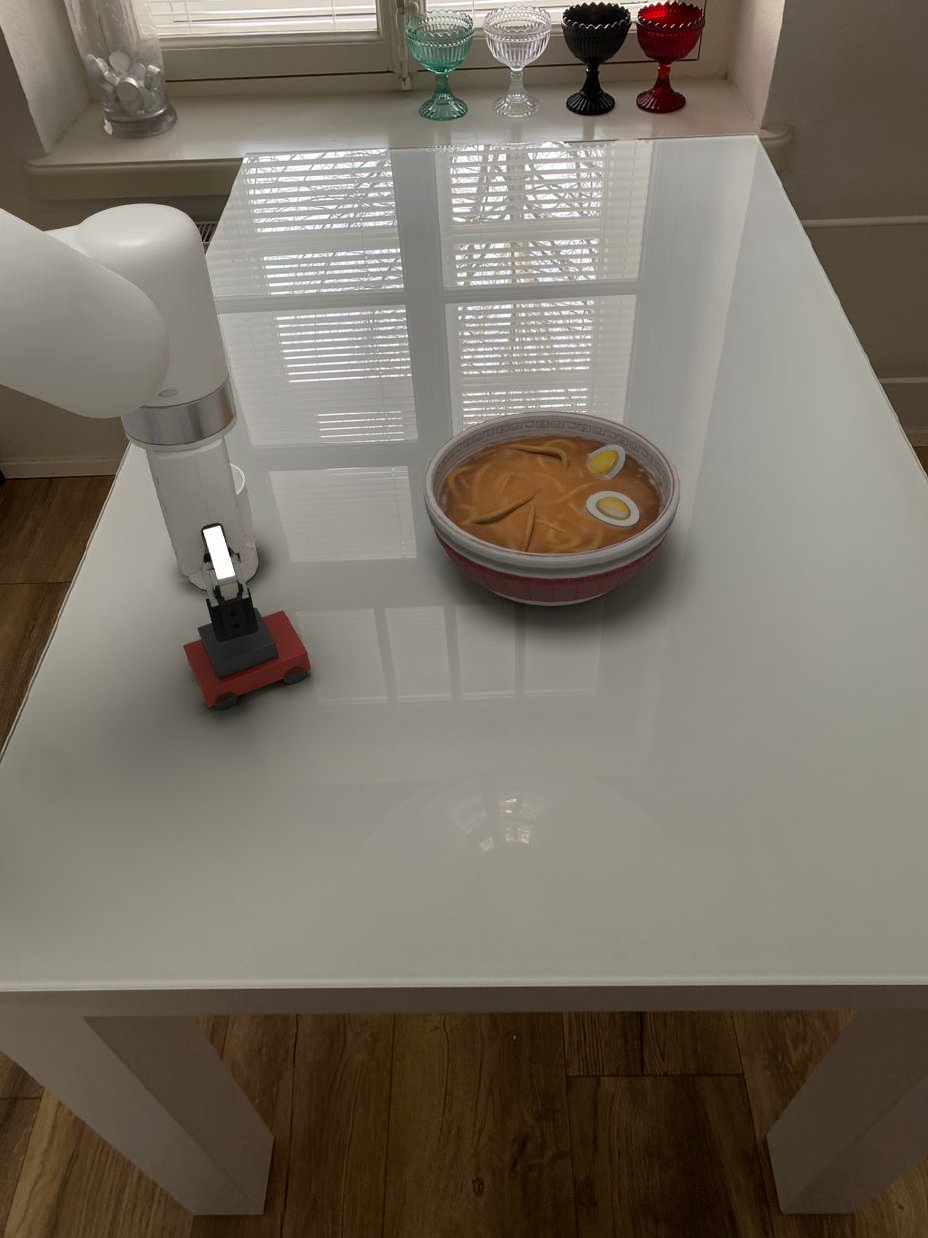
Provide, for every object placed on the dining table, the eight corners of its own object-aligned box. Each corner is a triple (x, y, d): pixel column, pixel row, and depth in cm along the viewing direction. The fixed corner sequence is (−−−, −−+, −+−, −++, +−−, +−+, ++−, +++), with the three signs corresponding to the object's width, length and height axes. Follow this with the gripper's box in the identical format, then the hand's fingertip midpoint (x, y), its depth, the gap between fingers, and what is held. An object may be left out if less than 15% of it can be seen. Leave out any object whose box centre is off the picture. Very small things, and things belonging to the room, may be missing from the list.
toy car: (197, 675, 76) (177, 629, 80) (210, 715, 79) (190, 669, 83) (304, 636, 79) (279, 594, 83) (312, 676, 82) (288, 634, 86)
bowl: (698, 525, 95) (712, 439, 89) (620, 678, 81) (630, 589, 74) (490, 472, 103) (489, 390, 96) (385, 602, 89) (375, 516, 82)
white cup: (272, 583, 91) (253, 497, 84) (190, 605, 89) (163, 519, 82) (254, 535, 97) (235, 451, 90) (176, 556, 95) (150, 471, 88)
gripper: (104, 359, 69) (159, 546, 81) (138, 483, 57) (197, 682, 69) (208, 340, 71) (247, 525, 83) (261, 456, 59) (298, 653, 71)
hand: (224, 596), depth 76 cm, fingers open, 9 cm apart
